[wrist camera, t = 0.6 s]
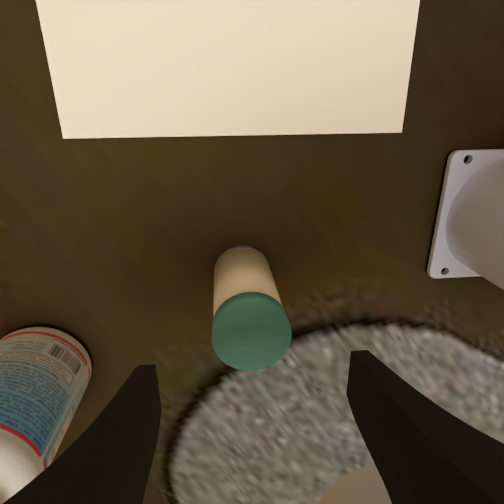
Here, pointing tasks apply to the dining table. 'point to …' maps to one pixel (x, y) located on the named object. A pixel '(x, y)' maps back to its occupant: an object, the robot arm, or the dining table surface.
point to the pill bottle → (36, 400)
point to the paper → (228, 66)
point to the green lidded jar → (247, 311)
